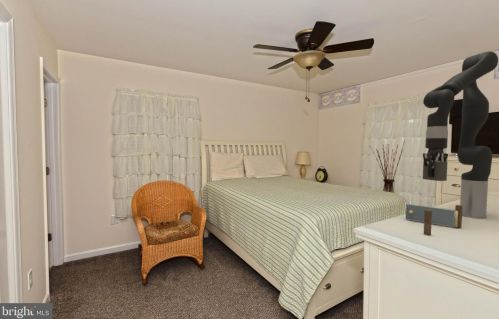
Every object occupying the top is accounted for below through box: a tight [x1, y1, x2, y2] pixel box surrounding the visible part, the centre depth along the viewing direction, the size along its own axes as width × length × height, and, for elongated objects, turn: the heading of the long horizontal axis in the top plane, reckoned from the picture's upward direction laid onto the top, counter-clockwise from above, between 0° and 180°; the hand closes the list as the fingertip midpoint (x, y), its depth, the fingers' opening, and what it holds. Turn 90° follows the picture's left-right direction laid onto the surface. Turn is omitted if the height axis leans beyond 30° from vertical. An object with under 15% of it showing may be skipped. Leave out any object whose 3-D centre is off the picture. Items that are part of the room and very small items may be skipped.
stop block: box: [422, 160, 448, 182], centre depth 105 cm, size 4×7×8 cm, turn 23°
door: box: [405, 203, 458, 228], centre depth 101 cm, size 18×3×6 cm, turn 48°
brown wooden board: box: [423, 204, 463, 236], centre depth 93 cm, size 21×2×9 cm, turn 113°
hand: (434, 176), depth 105 cm, fingers closed on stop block, 4 cm apart
